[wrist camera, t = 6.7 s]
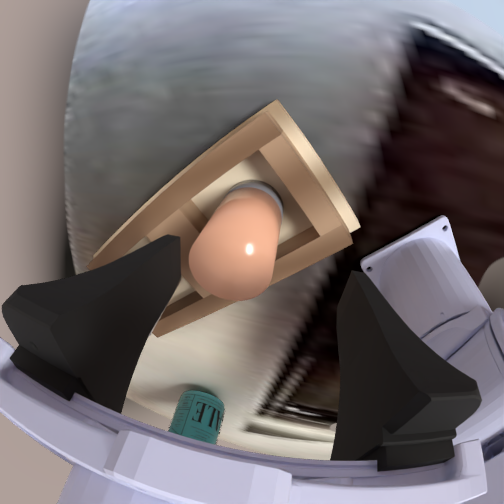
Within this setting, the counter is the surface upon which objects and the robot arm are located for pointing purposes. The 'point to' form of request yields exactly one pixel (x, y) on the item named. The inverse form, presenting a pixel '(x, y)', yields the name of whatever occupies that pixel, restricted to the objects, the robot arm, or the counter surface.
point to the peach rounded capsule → (239, 242)
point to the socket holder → (215, 189)
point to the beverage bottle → (198, 416)
